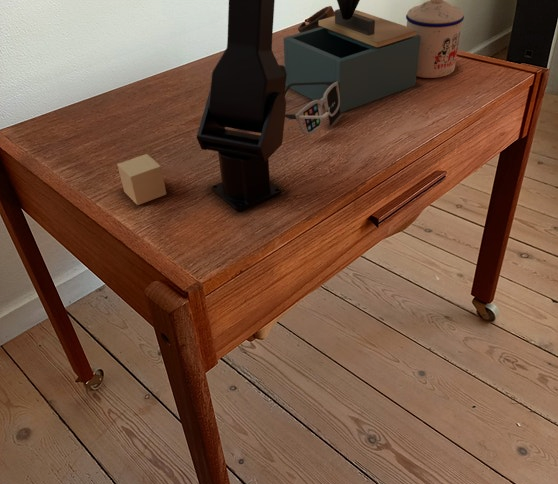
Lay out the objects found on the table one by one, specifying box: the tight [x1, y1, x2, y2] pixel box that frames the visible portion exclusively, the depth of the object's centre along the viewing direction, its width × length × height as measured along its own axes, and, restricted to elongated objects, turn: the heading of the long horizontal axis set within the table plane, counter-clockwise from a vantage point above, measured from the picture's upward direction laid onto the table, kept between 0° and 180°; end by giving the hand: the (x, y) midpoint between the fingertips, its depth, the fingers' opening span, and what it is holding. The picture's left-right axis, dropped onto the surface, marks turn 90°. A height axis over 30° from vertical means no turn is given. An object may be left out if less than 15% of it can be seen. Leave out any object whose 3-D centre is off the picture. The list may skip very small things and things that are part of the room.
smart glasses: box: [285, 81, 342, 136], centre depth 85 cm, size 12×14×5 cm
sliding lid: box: [319, 8, 417, 47], centre depth 91 cm, size 14×8×3 cm, turn 35°
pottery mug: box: [297, 5, 335, 33], centre depth 108 cm, size 12×10×8 cm
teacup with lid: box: [405, 0, 465, 79], centre depth 97 cm, size 12×9×12 cm
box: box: [282, 27, 421, 114], centre depth 93 cm, size 14×16×8 cm
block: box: [117, 153, 167, 206], centre depth 72 cm, size 4×4×4 cm
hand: (346, 19), depth 89 cm, fingers closed
